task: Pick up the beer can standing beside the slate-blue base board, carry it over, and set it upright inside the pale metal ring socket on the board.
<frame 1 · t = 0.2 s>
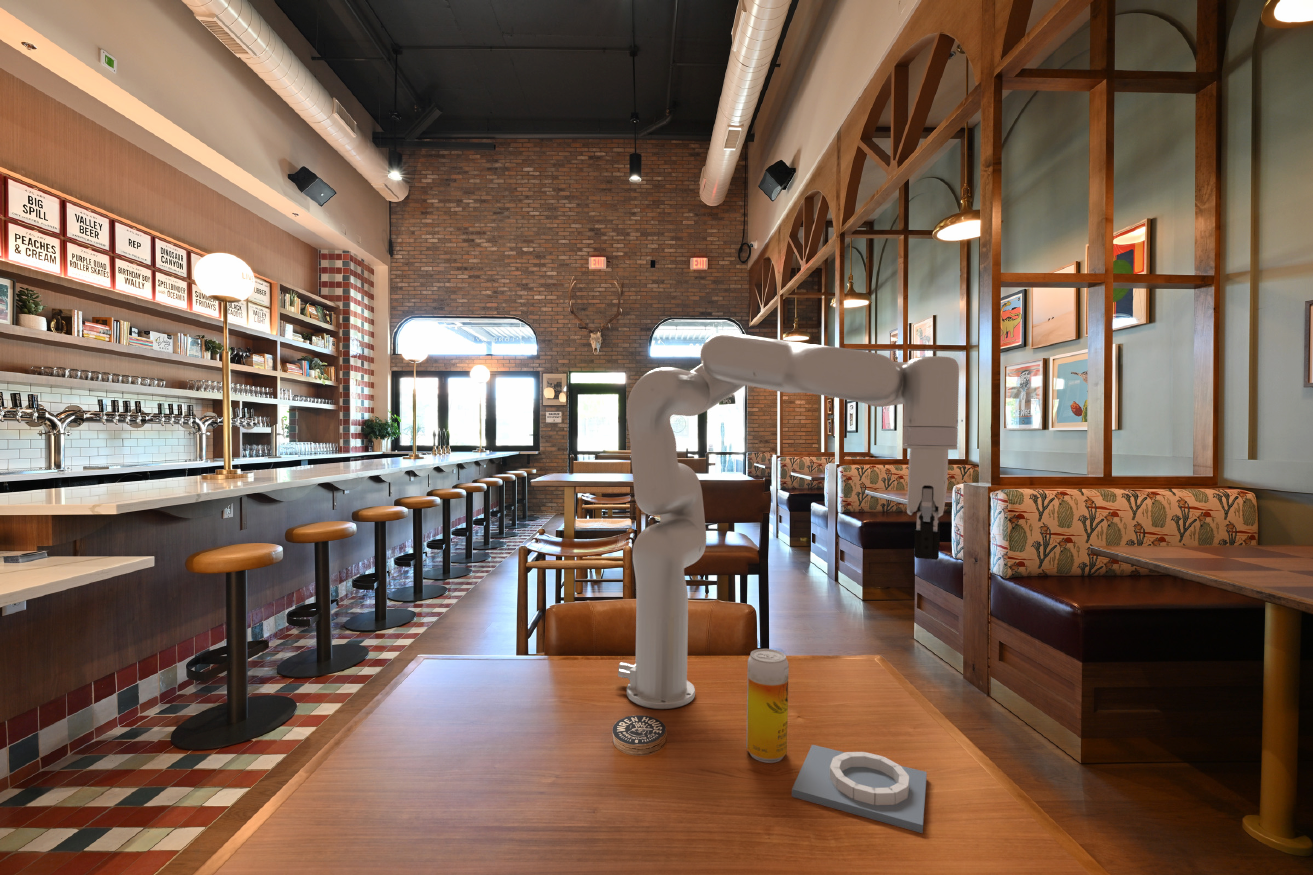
hand: (927, 552, 91), 31 cm above the table, tool pointing down, fingers open, 9 cm apart
beer can: (766, 754, 91), on the table
base board: (861, 787, 83), on the table
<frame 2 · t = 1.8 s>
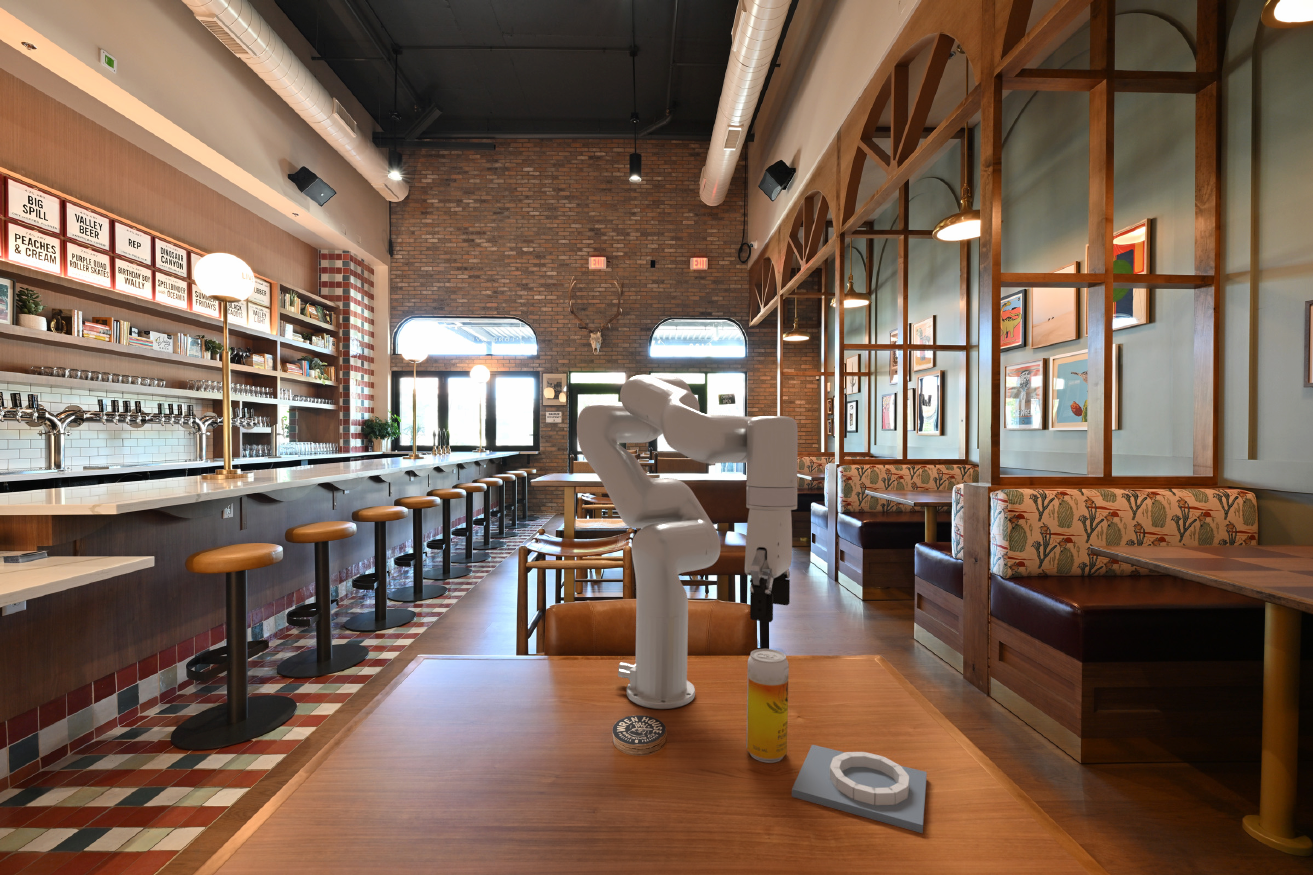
hand: (770, 611, 91), 22 cm above the table, tool pointing down, fingers open, 9 cm apart
nothing on the table moved.
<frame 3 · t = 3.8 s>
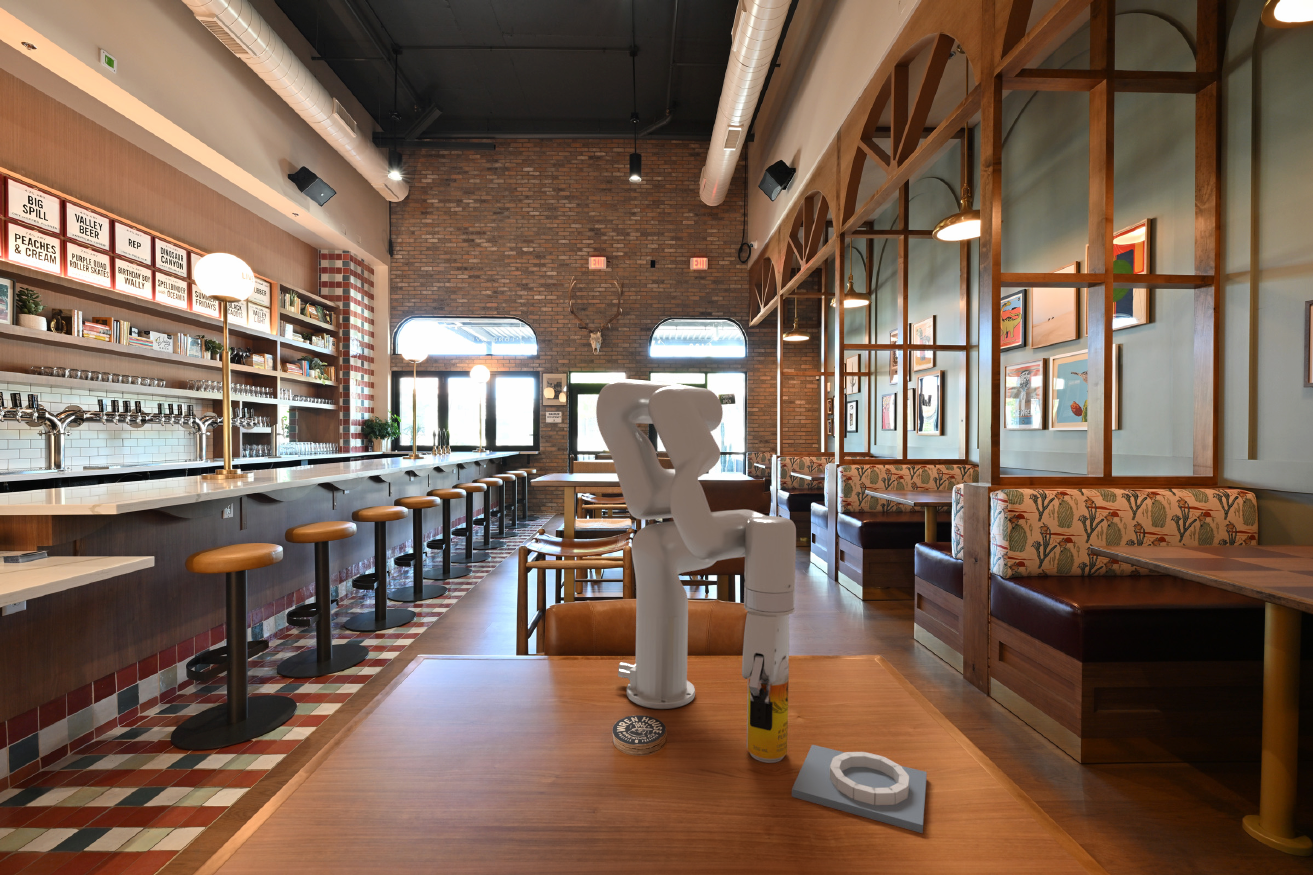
hand: (767, 716, 91), 6 cm above the table, tool pointing down, fingers closed on beer can, 6 cm apart
beer can: (766, 754, 91), on the table, touching gripper
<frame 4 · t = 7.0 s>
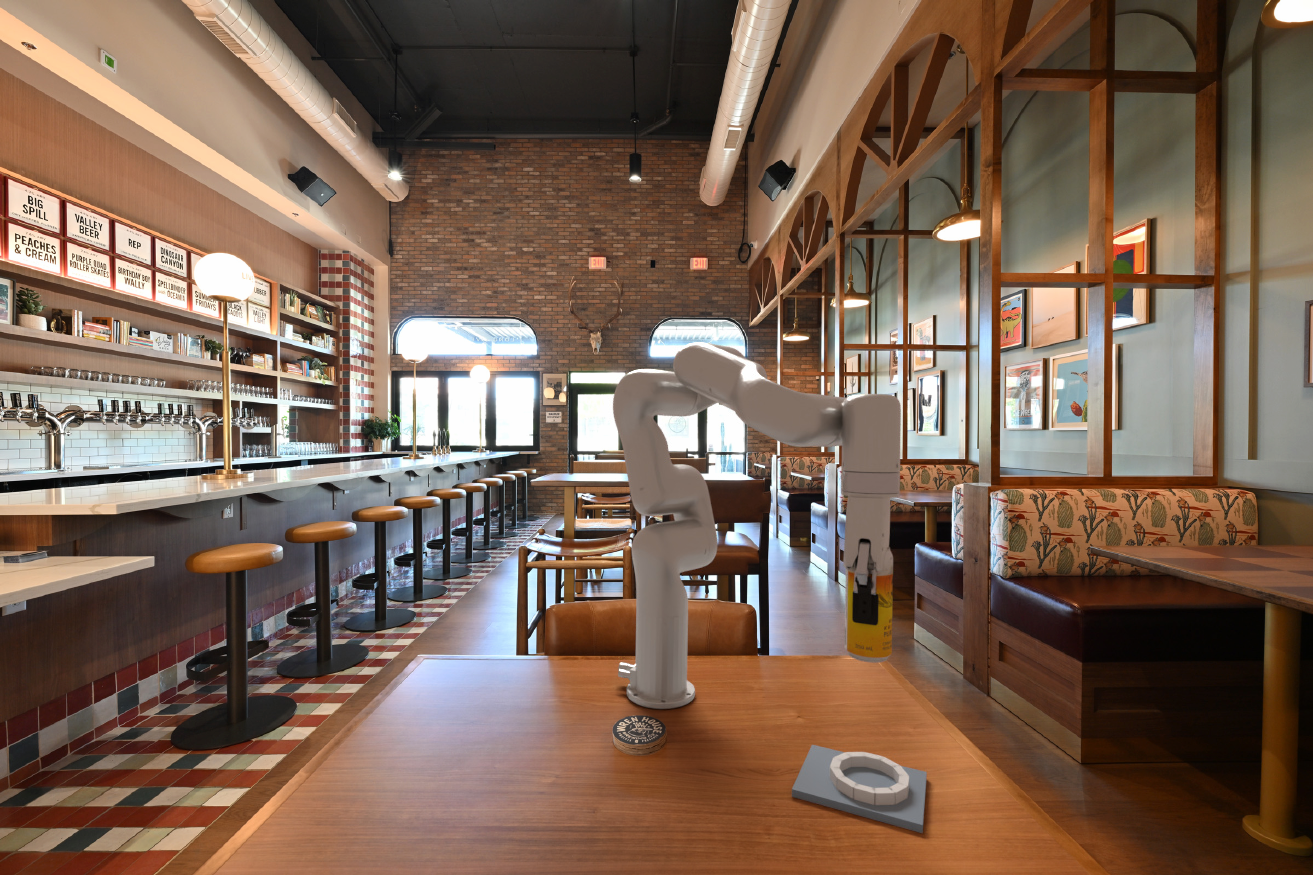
hand: (868, 615, 83), 24 cm above the table, tool pointing down, fingers closed on beer can, 6 cm apart
beer can: (867, 657, 83), point 18 cm above the table, touching gripper
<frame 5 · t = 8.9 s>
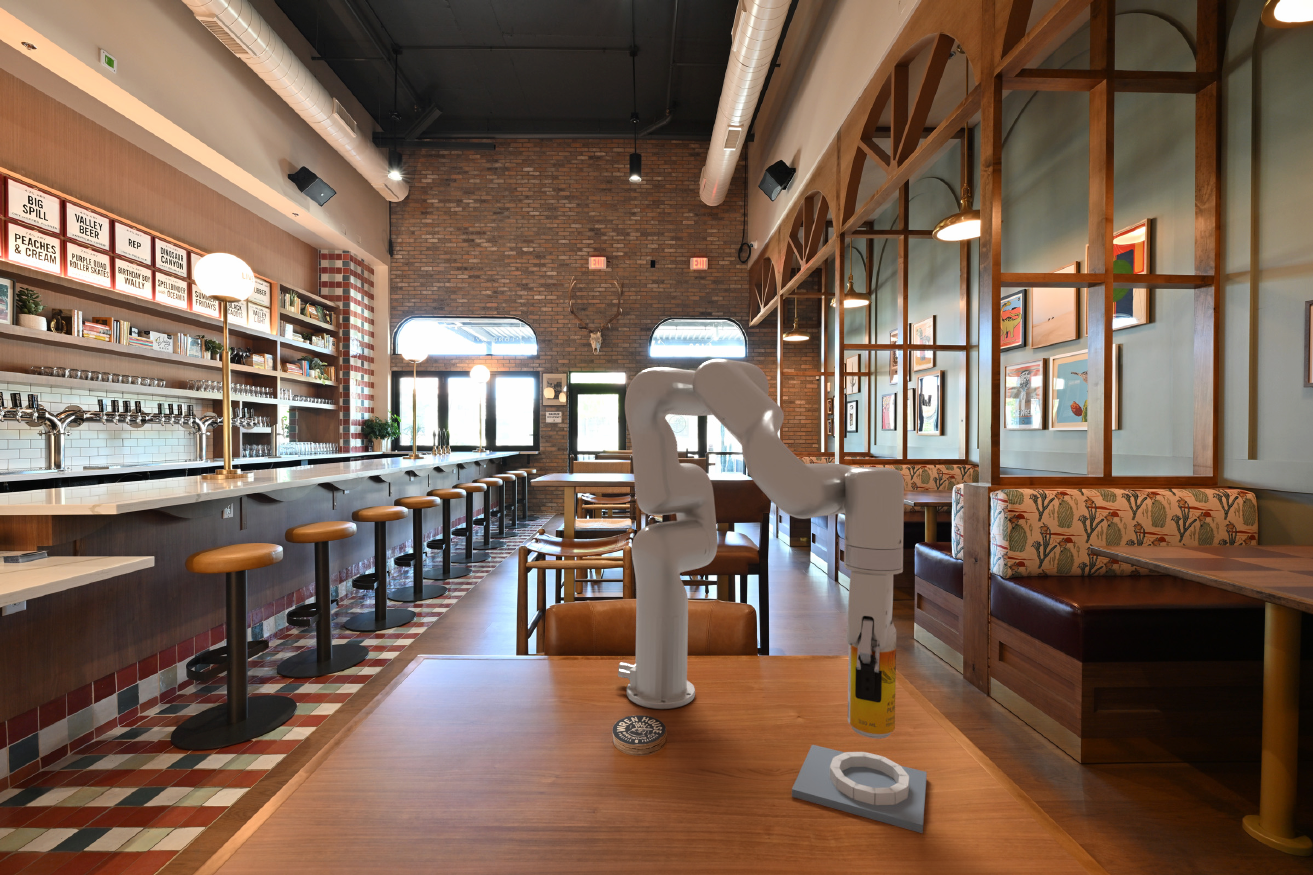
hand: (871, 688, 82), 14 cm above the table, tool pointing down, fingers closed on beer can, 6 cm apart
beer can: (870, 730, 82), point 8 cm above the table, touching gripper
when the fingers open (7 cm above the table, at t = 10.6 s): beer can stays where it is, resting on base board.
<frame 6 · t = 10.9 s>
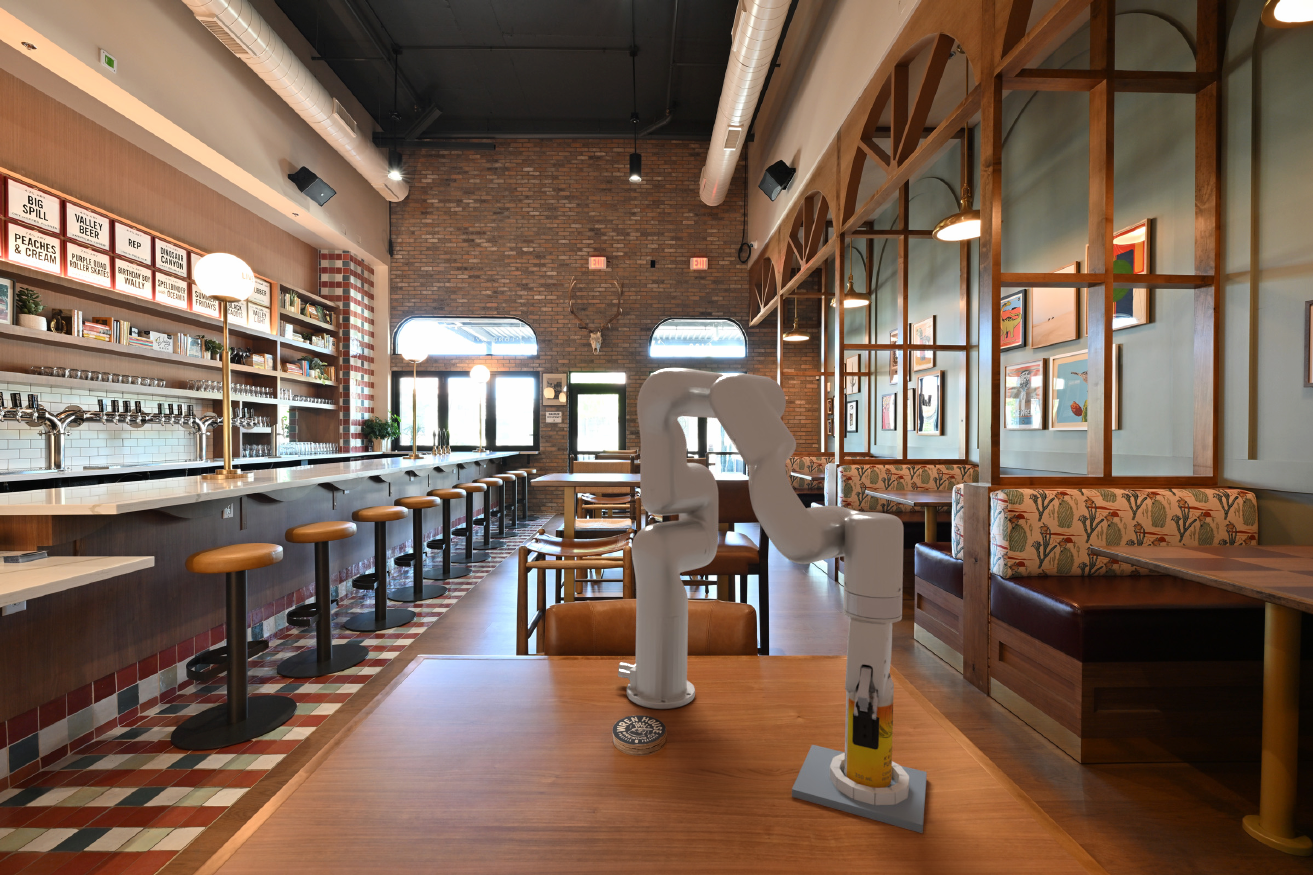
hand: (869, 730, 82), 8 cm above the table, tool pointing down, fingers open, 8 cm apart
beer can: (867, 782, 83), point 1 cm above the table, touching base board
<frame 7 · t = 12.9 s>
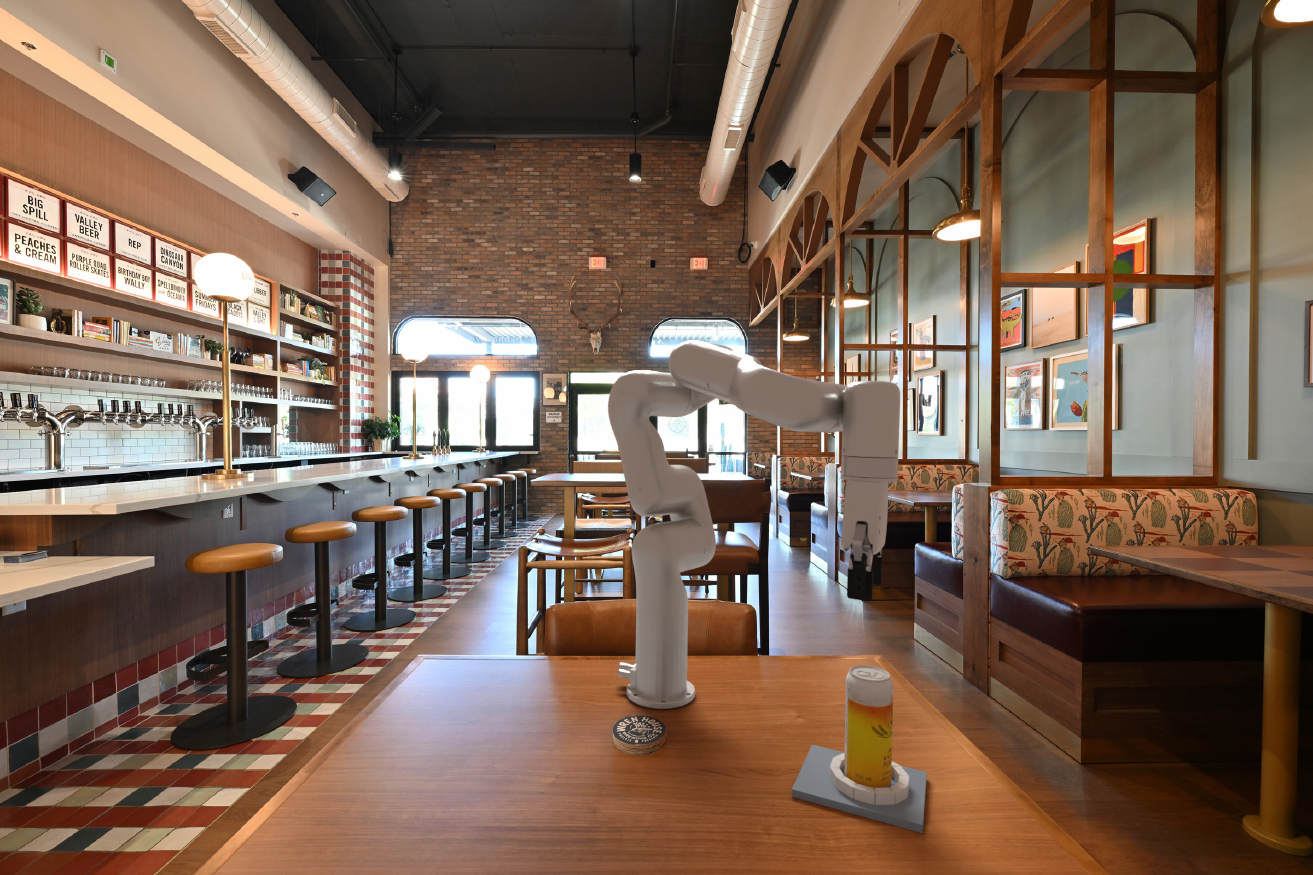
hand: (865, 590, 85), 26 cm above the table, tool pointing down, fingers open, 9 cm apart
nothing on the table moved.
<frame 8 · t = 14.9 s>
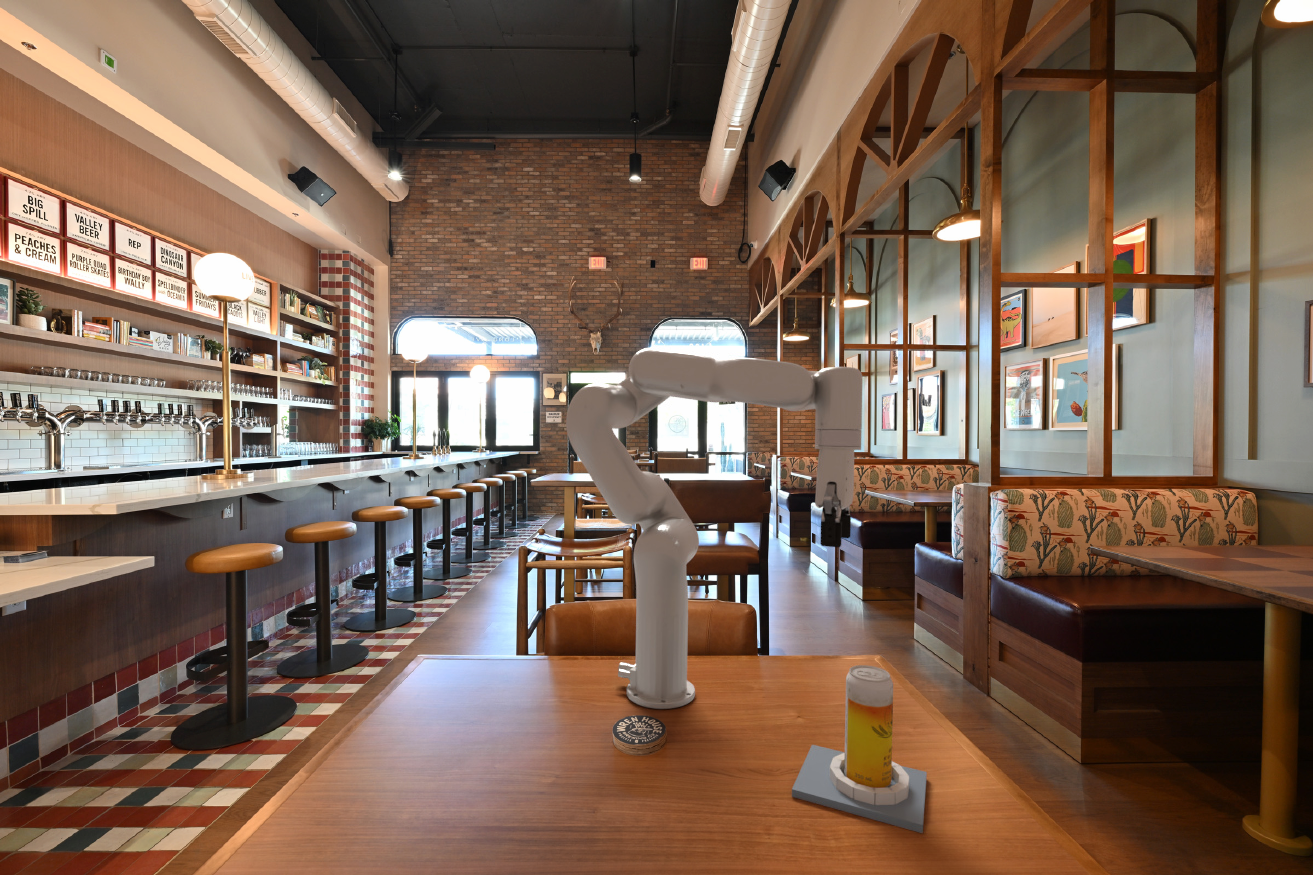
hand: (835, 541, 102), 30 cm above the table, tool pointing down, fingers open, 9 cm apart
nothing on the table moved.
at the end: beer can 0.2 cm from the target spot on the base board, point 0.8 cm above the base board's base; beer can tilted 0°; the gripper is holding nothing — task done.
